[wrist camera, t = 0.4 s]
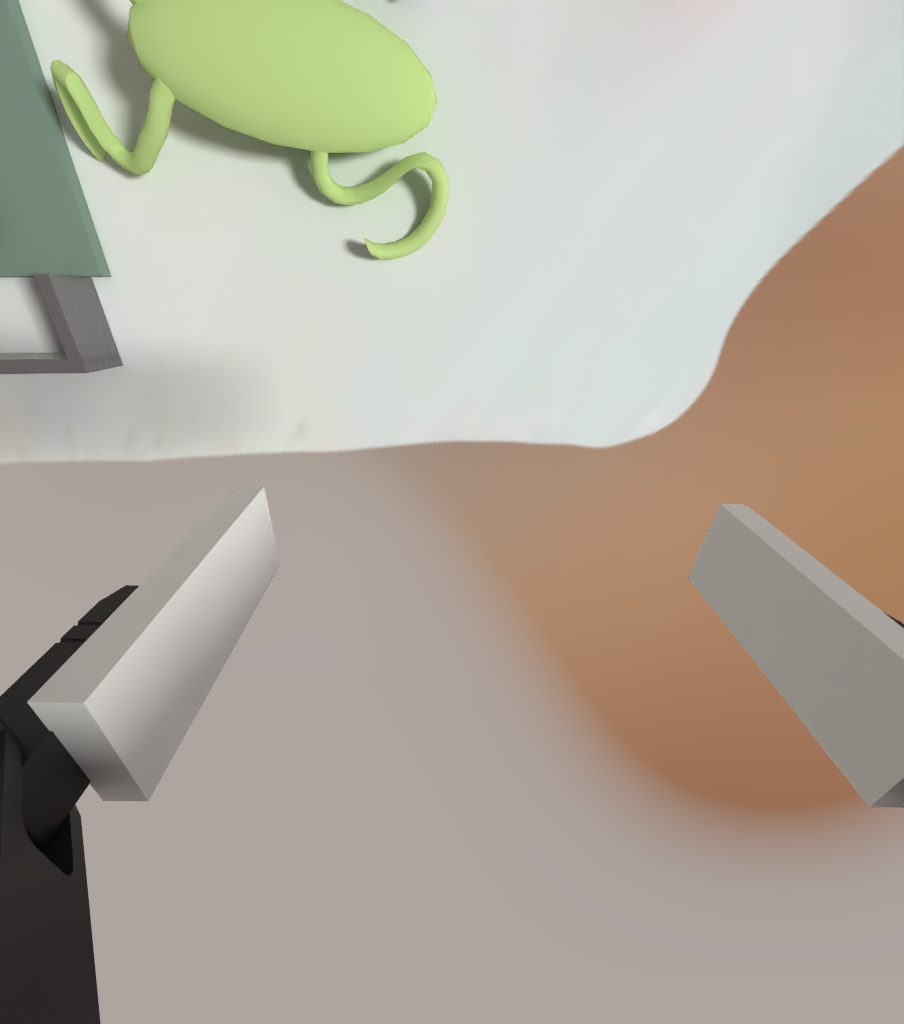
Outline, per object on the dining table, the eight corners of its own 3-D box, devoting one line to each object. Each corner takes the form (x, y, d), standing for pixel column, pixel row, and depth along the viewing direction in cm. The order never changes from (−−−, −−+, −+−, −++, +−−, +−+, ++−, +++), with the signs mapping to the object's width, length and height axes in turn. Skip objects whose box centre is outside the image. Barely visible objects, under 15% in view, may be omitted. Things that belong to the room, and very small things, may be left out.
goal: (-58, 276, 31) (-121, 273, 28) (91, 276, 32) (47, 273, 28) (-13, 366, 34) (-65, 374, 31) (122, 365, 34) (87, 373, 31)
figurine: (13, -310, 20) (-122, -507, 15) (511, -56, 25) (530, -146, 20) (58, 147, 28) (-23, 114, 23) (429, 278, 33) (427, 274, 28)
